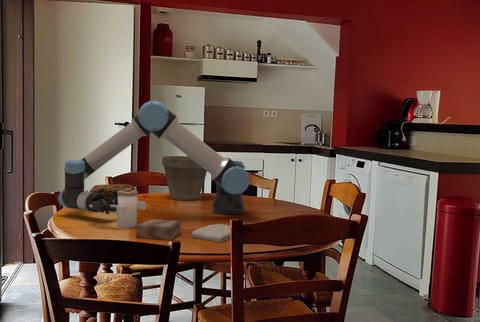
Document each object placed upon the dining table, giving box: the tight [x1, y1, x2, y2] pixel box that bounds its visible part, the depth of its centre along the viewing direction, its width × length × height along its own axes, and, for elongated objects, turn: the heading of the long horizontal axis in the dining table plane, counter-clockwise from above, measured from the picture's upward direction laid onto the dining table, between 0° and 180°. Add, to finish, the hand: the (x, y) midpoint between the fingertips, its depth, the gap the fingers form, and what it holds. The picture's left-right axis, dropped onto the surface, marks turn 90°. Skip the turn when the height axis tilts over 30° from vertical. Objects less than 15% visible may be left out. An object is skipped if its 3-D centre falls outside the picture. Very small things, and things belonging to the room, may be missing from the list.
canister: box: [116, 188, 139, 229], centre depth 177 cm, size 7×7×14 cm
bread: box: [88, 183, 135, 199], centre depth 219 cm, size 19×11×10 cm, turn 88°
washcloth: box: [191, 223, 231, 243], centre depth 168 cm, size 12×18×3 cm, turn 153°
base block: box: [136, 218, 181, 241], centre depth 165 cm, size 12×12×4 cm
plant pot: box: [161, 155, 208, 201], centre depth 247 cm, size 25×25×22 cm
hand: (135, 208), depth 175 cm, fingers open, 11 cm apart
